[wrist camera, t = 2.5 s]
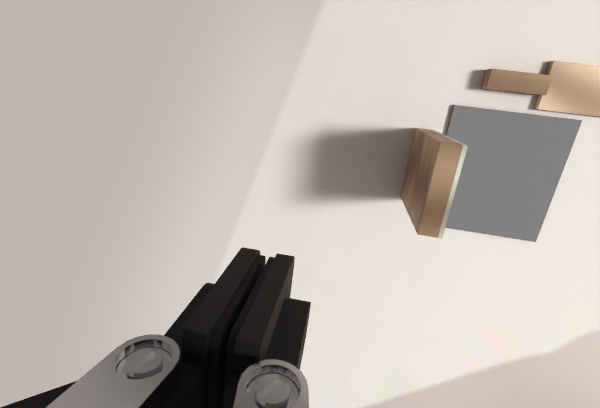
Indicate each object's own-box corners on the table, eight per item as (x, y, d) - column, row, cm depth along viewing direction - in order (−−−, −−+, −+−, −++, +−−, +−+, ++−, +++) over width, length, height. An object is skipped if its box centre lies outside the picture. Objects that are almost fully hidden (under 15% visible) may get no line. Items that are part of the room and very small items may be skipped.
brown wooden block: (415, 127, 32) (440, 142, 23) (434, 130, 32) (467, 145, 23) (400, 196, 35) (417, 234, 25) (418, 198, 35) (442, 238, 25)
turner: (490, 55, 30) (496, 53, 28) (624, 69, 29) (635, 68, 27) (477, 102, 31) (482, 102, 30) (604, 117, 30) (614, 118, 29)
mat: (453, 104, 31) (454, 105, 31) (579, 120, 30) (582, 120, 30) (423, 223, 35) (424, 224, 35) (534, 240, 34) (535, 241, 34)
